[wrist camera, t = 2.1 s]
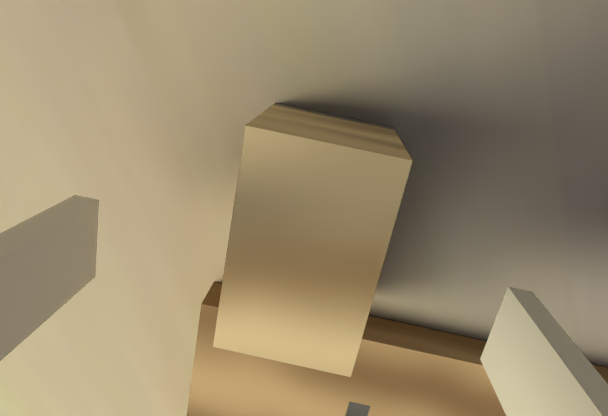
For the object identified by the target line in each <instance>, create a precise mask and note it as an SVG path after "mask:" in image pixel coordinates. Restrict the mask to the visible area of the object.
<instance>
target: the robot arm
mask: <svg viewBox="0 0 608 416" xmlns="http://www.w3.org/2000/svg"><path fill="white" fill-rule="evenodd" d="M98 206H99V200H96V199H92V198H87V197H82V196H77V195H74V196H72V197H70V198H68V199H66V200H64V201H63V202H61V203H59V204H57V205H55V206H53V207H51V208H49V209H47V210H45V211H43V212H41V213H39V214H37V215H35V216H33V217H31V218H29V219H28V220H26V221H24V222H22V223H20V224H18V225H16V226H14V227H12V228H10V229H8V230H6V231H4V232H2V233H0V361H1V360H2V359H3V358H4V357H5V356H6V355H8V354H9V353H10V352H11V351H12V350H13V349H14V348H15V347H17V346H18V345H19V344H20V343H21V342H22V341H23V340H24V339H26V338H27V337H28V336H29V335H30V334H31V333H32V332H33V331H35V330H36V329H37V328H38V327H39V326H40V325H41V324H42V323H44V322H45V321H46V320H47V319H48V318H49V317H50V316H52V315H53V314H54V313H55V312H56V311H57V310H58V309H59V308H61V307H62V306H63V305H64V304H65V303H66V302H67V301H68V300H70V299H71V298H72V297H73V296H74V295H75V294H76V293H77V292H79V291H80V290H81V289H82V288H83V287H84V286H85V285H86V284H88V283H89V282H90V281H91V280H92V279H93V278H94V277H95V270H96V249H97V227H98ZM480 360H481V362H482V364H483V366H484V369H485V371H486V373H487V375H488V377H489V379H490V382H491V384H492V386H493V388H494V390H495V392H496V395H497V397H498V399H499V401H500V403H501V405H502V408H503V410H504V412H505V414H506V416H608V384H607V382H606V381H605V380H604V379H603V378H602V376H601V375H600V374H599V373H598V371H597V370H596V369H595V368H594V367H593V365H592V364H591V363H590V362H589V360H588V359H587V358H586V357H585V356H584V354H583V353H582V352H581V351H580V349H579V348H578V347H577V346H576V345H575V343H574V342H573V341H572V340H571V338H570V337H569V336H568V335H567V334H566V332H565V331H564V330H563V329H562V327H561V326H560V325H559V324H558V323H557V321H556V320H555V319H554V318H553V316H552V315H551V314H550V313H549V312H548V310H547V309H546V308H545V307H544V305H543V304H542V303H541V302H540V301H539V299H538V298H537V297H536V296H535V294H534V293H533V292H530V291H526V290H521V289H516V288H512V287H508V289H507V291H506V294H505V296H504V299H503V301H502V304H501V307H500V309H499V312H498V314H497V317H496V319H495V322H494V325H493V327H492V330H491V332H490V335H489V337H488V340H487V343H486V345H485V348H484V350H483V353H482V355H481V358H480Z"/></svg>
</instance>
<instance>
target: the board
mask: <svg viewBox="0 0 608 416" xmlns="http://www.w3.org/2000/svg"><path fill="white" fill-rule="evenodd" d="M221 289H222V284H221V283H216V282H214V283H213V285H212V286H211V288H210V290H209V292H208V293H207V295H206V297H205V299H204V301H203V302H202V304H201V312H200V320H199V327H198V335H197V342H196V350H195V358H194V365H193V373H192V380H191V388H190V395H189V403H188V411H187V416H506V414H505V412H504V410H503V408H502V405H501V403H500V401H499V399H498V397H497V395H496V392H495V390H494V388H493V386H492V384H491V382H490V379H489V377H488V375H487V373H486V371H485V369H484V366H483V364H482V362H481V360H480V358H481V355H482V353H483V350H484V348H485V345H486V343H487V341H483V340H479V339H474V338H470V337H465V336H460V335H456V334H451V333H447V332H442V331H437V330H433V329H428V328H424V327H419V326H414V325H410V324H405V323H401V322H396V321H391V320H387V319H382V318H378V317H373V316H368V319H367V322H366V326H365V329H364V333H363V336H362V340H361V343H360V347H359V350H358V354H357V357H356V361H355V364H354V368H353V371H352V375H351V377H347V376H343V375H338V374H334V373H329V372H325V371H320V370H316V369H311V368H307V367H302V366H298V365H293V364H288V363H284V362H279V361H275V360H270V359H266V358H261V357H257V356H252V355H248V354H243V353H239V352H234V351H230V350H225V349H220V348H216V347H213V343H214V336H215V329H216V323H217V316H218V309H219V302H220V295H221ZM592 365H593V367H594V368H595V369H596V370H597V371H598V373H599V374H600V375H601V376H602V378H603V379H604V380H605V381H606V382H607V384H608V367H603V366H598V365H594V364H592Z"/></svg>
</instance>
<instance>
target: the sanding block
mask: <svg viewBox="0 0 608 416" xmlns="http://www.w3.org/2000/svg"><path fill="white" fill-rule="evenodd" d="M412 161H413V160H412V159H411V157H410V155H409V154H408V152H407V150H406V149H405V147H404V145H403V143H402V142H401V140H400V138H399V137H398V135H397V133H396V131H395V130H394V128H393V127H389V126H384V125H379V124H374V123H370V122H365V121H360V120H355V119H351V118H346V117H341V116H336V115H331V114H327V113H322V112H317V111H312V110H308V109H303V108H298V107H293V106H288V105H284V104H279V103H275V104H273V105H272V106H271V107H269V108H268V109H267V110H265V111H264V112H263V113H261V114H260V115H259V116H257V117H256V118H255V119H253V120H252V121H251V122H250V123H248V124H247V125H246V126H245V133H244V139H243V146H242V153H241V160H240V167H239V173H238V180H237V187H236V194H235V201H234V207H233V214H232V221H231V228H230V234H229V241H228V248H227V255H226V262H225V268H224V275H223V282H222V289H221V295H220V302H219V309H218V316H217V323H216V329H215V336H214V343H213V347H216V348H220V349H225V350H230V351H234V352H239V353H243V354H248V355H252V356H257V357H261V358H266V359H270V360H275V361H279V362H284V363H288V364H293V365H298V366H302V367H307V368H311V369H316V370H320V371H325V372H329V373H334V374H338V375H343V376H347V377H351V375H352V371H353V368H354V364H355V361H356V357H357V354H358V350H359V347H360V343H361V340H362V336H363V333H364V329H365V326H366V322H367V319H368V315H369V312H370V308H371V305H372V301H373V298H374V294H375V291H376V287H377V284H378V280H379V277H380V273H381V270H382V266H383V263H384V259H385V256H386V252H387V249H388V245H389V242H390V238H391V235H392V231H393V228H394V224H395V221H396V217H397V214H398V210H399V207H400V203H401V200H402V196H403V193H404V189H405V186H406V182H407V179H408V175H409V172H410V168H411V165H412Z"/></svg>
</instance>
